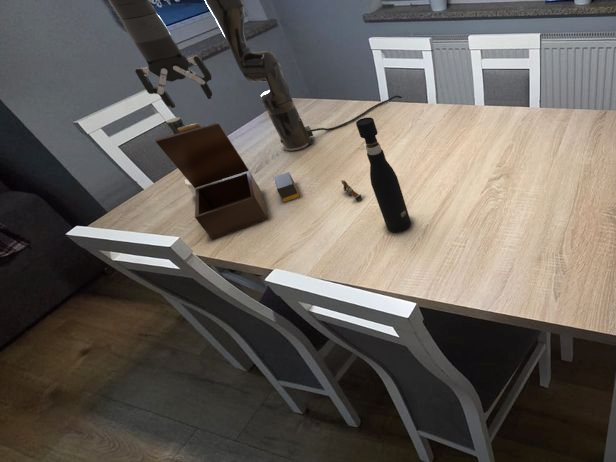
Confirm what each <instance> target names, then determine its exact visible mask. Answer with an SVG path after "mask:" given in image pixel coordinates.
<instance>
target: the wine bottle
mask: <svg viewBox="0 0 616 462" xmlns="http://www.w3.org/2000/svg"><path fill="white" fill-rule="evenodd" d="M355 125H356V127H357V128H356V129H357V131H358V134H359V137H360V138H361V139H364V143H365V150H366V152H367V153H366V156H367V159H368V161H369V164H370V165H369V178H370V185H371V188H372V190H373V193H374V196H375V199H376V201H377V204H378V207H379V210H380V212H381V215H382V218H383V220H384V224H385V227H386V229H387V231H389V232H390V233H393V234H400V233H402V232H405V231H407V230H408V229H409V228H410V227H411V225H412V222H411V221H412V220H411V218H410V215H409V211H408V208H407V205H406V201H405V198H404V194H403V192H402V188H401V185H400V182H399V179H398V176H397V174H396V172H395V170H394V168H393V167H392V166H391V164H390V163H389V161H388V160H387V158H386V156H385V152H384V149H382V147H381V144H380V143H379V142H378V139H377V137H376V136H377V135H378V129H377V125H376V123H375V120H374V118H373V117H369V116H368V117H362V118H358V119H357V120H356V122H355Z"/></svg>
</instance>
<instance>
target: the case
mask: <svg viewBox="0 0 616 462" xmlns="http://www.w3.org/2000/svg"><path fill="white" fill-rule="evenodd" d="M194 199H195V200H194V218H195V220H196V221H197V223H198V224H199V225H200V227H201V228H202V229H203V231H204V232H205V233H206V235H207V236H208V237H209V238H210V240H215V239H218V238H221V237H223V236H226V235H228V234H231V233H234V232H236V231H239V230H242V229H245V228H248V227H250V226H253V225H256V224H259V223H262V222H265V221H267V220H269V218H268V213H267V209H266V204H265V201H264V195H263V191H262V190H261V188H260V187H259V185H258V183H257V181H256V179H255V178H254V177H253V175H252V173H251V172H250V170H249V171H247V172H244V173H241V174H238V175H234V176H231V177H228V178H225V179H222V180H221V181H218V182H215V183H212V184H209V185H206V186H203V187H200V188H196V190H195V196H194Z"/></svg>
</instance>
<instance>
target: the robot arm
mask: <svg viewBox="0 0 616 462" xmlns="http://www.w3.org/2000/svg"><path fill="white" fill-rule="evenodd" d="M204 1H205V4H206V5H207V7H208V9H209V11H210V12H211V14H212V16H213V17H214V18H215V21H216V23H217V25H218V27H219V28H220V30H221V32H222V35H223V36H224V38H225V41H226V42H227V45H228V46H229V49H230V51H231V54H232V56H233V58H234V61H235V63H236V65H237V67H238V69H239V71H240V73H241V74H242V76H243V78H245V79H246V80H247V81H248V82H250V83H253V84H258V83H267V85H268V90H266V91H264V92H262V93H261V94H260V101H261V102H262V104H263V106H264V108H265V111H266V112H267V114H268V117H269V119H270V120H271V123H272V124H273V126H274V129H275V130H276V133H277V135H278V136H279V139H280V140H279V141H280V143H281V144H282V146H283V147H284V149H285V150H286V151H289V152H294V151H300V150H302V149H305V148H307V147H308V146H310V145H312V144H313V142H312V140H311V137H313V136H314V133H313V132H318V131H333V130H336V129H339V128H342V127H344V126H346V125H348V124H350V123H352V122H355V121H357V120H358V119H360V118H361V117H362V116H364V115H365V114H367V113H368V112H370V111H372V110H373V109H374V108H377V107H378V106H381V105H383V104H385V103H387V102H390V101H392V100H393V99H396V98H399V99H402V98H403V97H402V96H401V95H393V96H391V97H390V98H388V99H385V100H383V101H381V102H379V103H377V104H375V105H373V106H371V107H370V108H367V109H366V110H365V111H363V112H362V113H360V114H358V115H357V116H355V117H353V118H352V119H350V120H349V121H346V122H344V123H341V124H338V125H337V126H334V127H328V128H326V127H319V128H312V129H311V127H310V125H306V126H305V124H304V122H303V120H302V118H301V116H300V113H299V111H298V109H297V107H296V105H295V103H294V100H293V98H292V95H291V93H290V87H289V84H288V82H287V79H286V77H285V74H284V71H283V68H282V66H281V64H280V61H279V59H278V58H277V56H276V55H275V54H274V53H273V52H271V51H266V50H263V51H252V50H251V48H250V47H249V44H248V42H247V38H246V37H245V30H244V29H245V12H246V11H245V4H244V2H243V0H204ZM108 2H109V4H110V5H111V7H112V8H113V11H114V12H115V13H116V14H117V16H118V18H119V19H120V21H121V22H122V24H123V27H124V29H125V30H126V32H127V34H128V35H129V37H130V38H131V40H132V41H133V44H134V45H135V46H136V48H137V50H138V51H139V52H140V54H141V55H142V57H143V58H144V60H145V62H146V63H147V66H143V67H141V66H137V67H136V69H135V71H134V72H135V74H136V75H137V77H138V79H139V80H140V82H141V84H142V85H143V88H144V89H145V91H146V92H147V93H148V94H149V95H153V94H155V95H158V96H160V98H161V99H162V101H163V102H164V104H165V105H166V107H170V108H171V109H174V108H176V104H175V103H174V101H173V100H172V97H171V96H170V94H169V93H168V91H165V88H166V84H167V83H166V82H170V83H172V82H175V81H177V80H184V79H185V78H188V79H190V80H192V81H195V82H196V83H198V84H199V85H200V88H201V90H202V91H203V93H204V94H205V96H206V98H207V100H212V96H213V92H212V89H211V88H210V86H209V85H208V82H209V81H211V80H212V74H211V72H210V70H209V69H208V67H207V66H206V65H205V63H204V61H203V60H202V58H201V56H200V55H199V54H194V55H193V56H189V57H186V56H185V55H183V53H182V52H181V50H180V48H179V46H178V44H177V43H176V40H175V39H174V38H173V36H172V34H171V33H170V30H169V28H168V27H167V26H166V24H165V22H164V21H163V19H162V18H161V17H160V15H158V13H157V11H156V9H155V8H154V6H153V4H152V2H151V1H150V0H108ZM190 64H192V65H193V66H195V67H198V68H199V70H200V72H201V73H202V75H203V76H201V75H200V74H198V73H197V72H195V71H193V70H192V69H190V68H189V67H190V66H189V65H190ZM150 73H152V74H154V75H155V76H157V77H159V79H158V86H154V85H153V83H152V82H151V80H150V79H149V77H150Z"/></svg>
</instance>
